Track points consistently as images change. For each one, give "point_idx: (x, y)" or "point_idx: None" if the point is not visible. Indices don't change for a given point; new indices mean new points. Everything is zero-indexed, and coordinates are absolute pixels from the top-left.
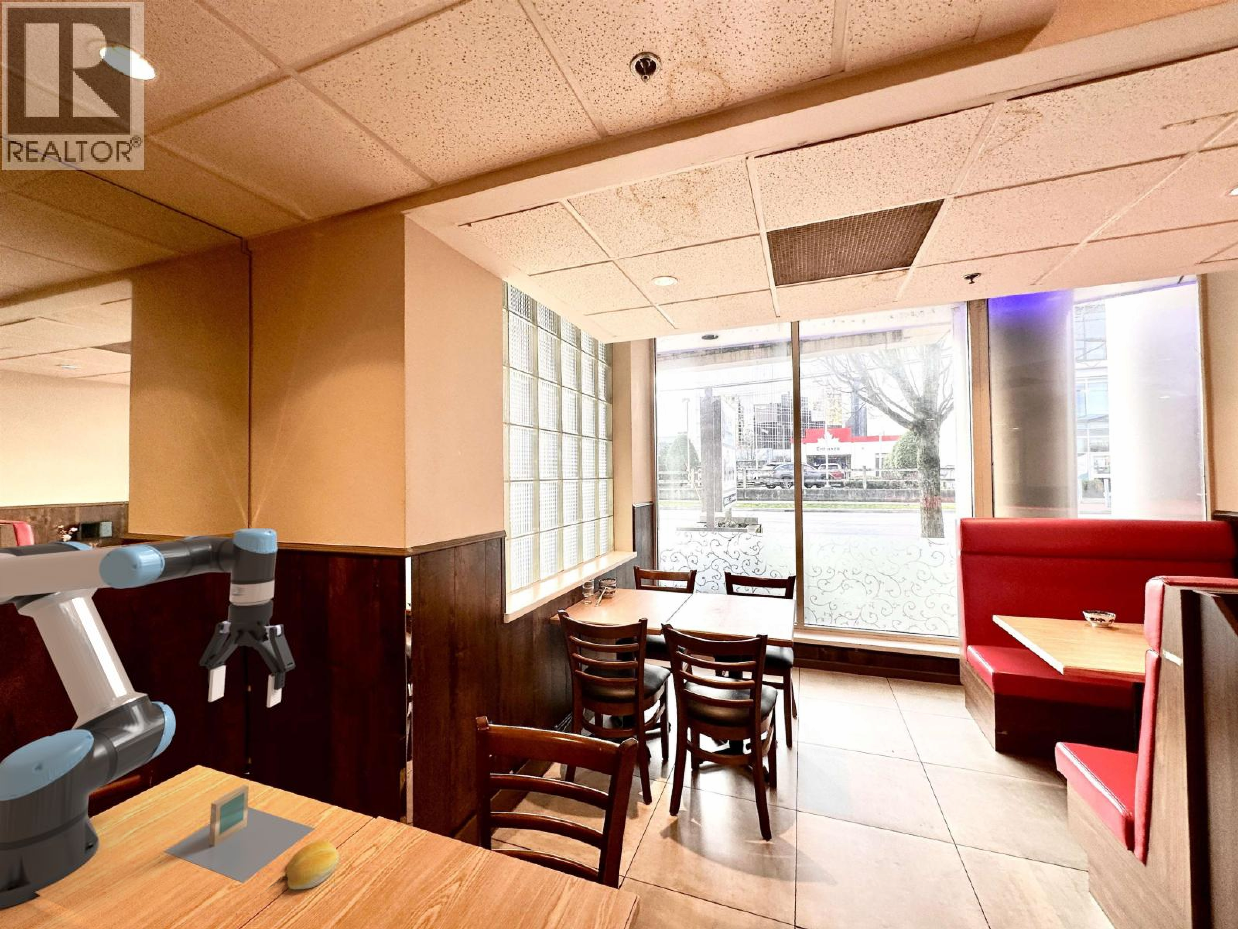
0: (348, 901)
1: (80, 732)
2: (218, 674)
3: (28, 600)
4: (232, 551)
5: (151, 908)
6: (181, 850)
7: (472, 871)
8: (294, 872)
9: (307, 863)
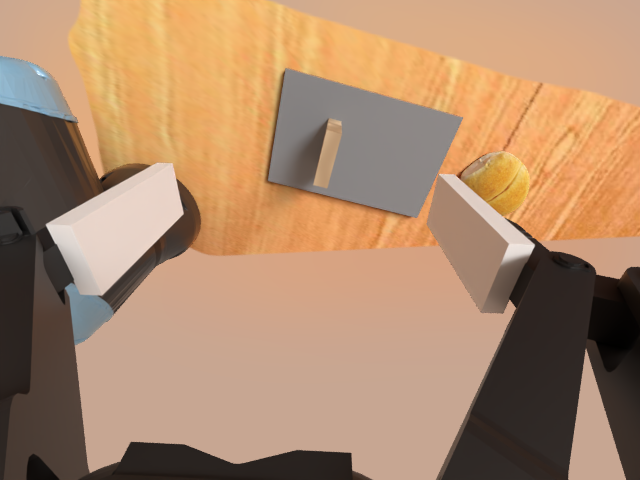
0: (555, 220)
1: None
2: (114, 247)
3: None
4: None
5: (331, 239)
6: (290, 177)
7: None
8: None
9: (501, 209)
